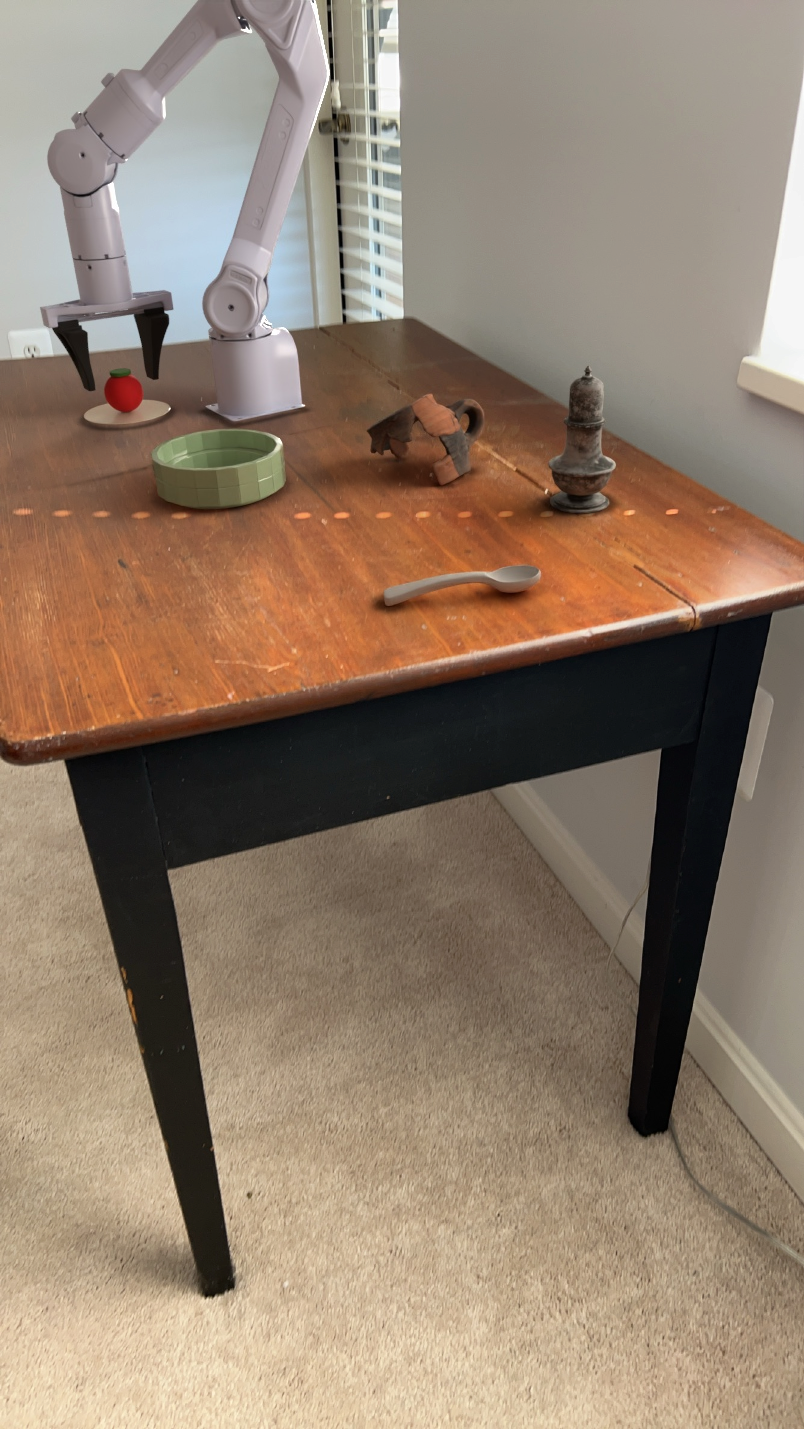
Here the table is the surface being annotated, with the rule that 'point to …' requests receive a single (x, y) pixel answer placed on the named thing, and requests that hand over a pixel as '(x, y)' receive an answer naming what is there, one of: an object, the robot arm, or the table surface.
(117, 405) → the tomato
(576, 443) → the salt shaker
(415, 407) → the brown irregular piece
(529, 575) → the spoon
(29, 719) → the table surface
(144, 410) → the saucer
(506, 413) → the table surface
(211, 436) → the bowl
